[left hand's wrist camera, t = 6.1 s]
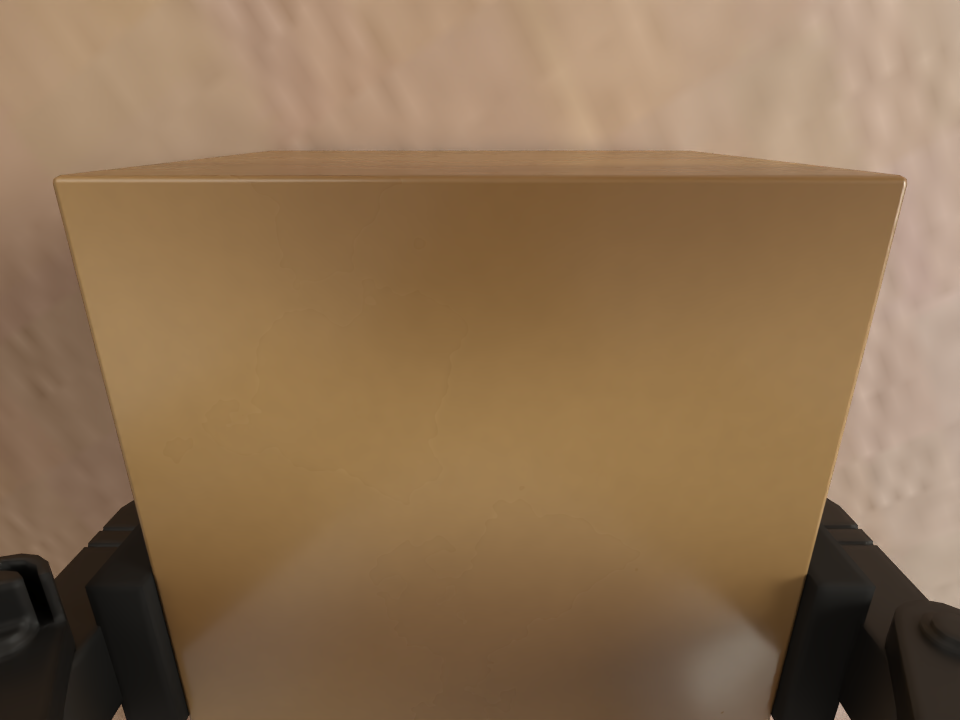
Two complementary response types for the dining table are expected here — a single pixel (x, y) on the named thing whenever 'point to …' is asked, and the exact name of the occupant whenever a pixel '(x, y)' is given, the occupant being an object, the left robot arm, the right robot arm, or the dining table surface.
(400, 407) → the slab
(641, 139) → the dining table surface
